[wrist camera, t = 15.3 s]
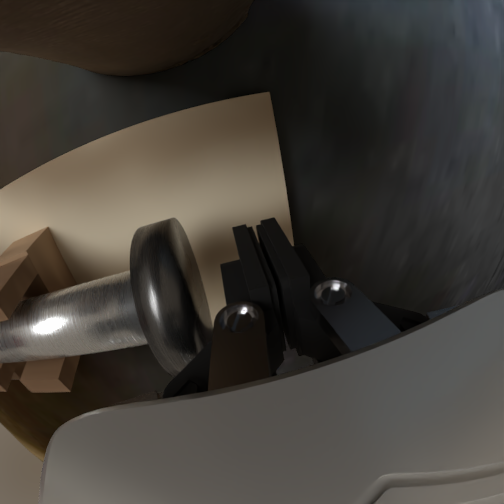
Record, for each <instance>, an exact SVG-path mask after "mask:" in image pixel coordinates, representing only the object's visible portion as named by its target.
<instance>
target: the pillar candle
mask: <svg viewBox="0 0 504 504" xmlns="http://www.w3.org/2000/svg"><path fill="white" fill-rule="evenodd" d="M253 1H254V0H0V51H1V52H11V53H15V54H20V55H28V56H33V57H38V58H43V59H47V60H51V61H55V62H60V63H65V64H69V65H72V66H76V67H79V68H82V69H85V70H88V71H91V72H94V73H99V74H104V75H117V76H134V75H142V74H143V75H144V74H151V73H156V72H158V71H165V70H168V69H171V68H174V67H177V66H180V65H183V64H185V63H187V62H188V60H194V59H197V58H199V57H201V56H202V55H204V54H206V53H207V52H209V51H210V50H212V49H214V48H215V47H217V46H218V45H219V44H220V43H222V42H223V41H224V40H226V39H227V38H228V37H229V36H230V35H232V34H233V33H234V32H235V31H236V30H237V28H238V27H239V26H240V25H241V24H242V22H244V20H245V19H246V17H247V16H248V13H247V12H248V10H249V8H250V5H251V3H252V2H253Z"/></svg>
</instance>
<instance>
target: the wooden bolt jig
mask: <svg viewBox="0 0 504 504" xmlns="http://www.w3.org/2000/svg"><path fill="white" fill-rule="evenodd" d="M173 217H174V218H176V219H177V220H178V221H179V222H180V224H181V225H182V227H183V229H184V231H185V233H186V235H187V237H188V240H189V242H190V245H191V247H192V250H193V253H194V256H195V259H196V262H197V265H198V268H199V271H200V275H201V278H202V282H203V286H204V289H205V293H206V297H207V301H208V306H209V310H210V315H211V320H212V325H213V327H214V320H215V317H216V315H217V313H218V312H219V311H220V310H221V309H222V308H224V307H225V306H226V300H225V294H224V287H223V281H222V274H221V268H220V264H222V263H226V262H230V261H235V260H239V255H238V251H237V247H236V243H235V238H234V234H233V230H232V227H235V226H239V225H243V224H246V226H247V227H251V226H252V228H253V230H254V232H255V235H256V237H257V240H258V235H257V229H256V225H259V224H261V223H260V221H261V220H264V219H269V218H273V217H275V219H276V220H277V222H278V224H279V225H280V227H281V229H282V230H283V232H284V233H285V235H286V237H287V238H288V240H289V242H290V243H291V245H292V246H294V241H293V234H292V226H291V219H290V212H289V205H288V198H287V191H286V185H285V178H284V172H283V166H282V159H281V153H280V147H279V141H278V136H277V130H276V124H275V119H274V113H273V108H272V103H271V97H270V92H264V93H258V94H252V95H247V96H241V97H236V98H231V99H226V100H222V101H217V102H213V103H209V104H204V105H200V106H196V107H192V108H189V109H185V110H181V111H178V112H174V113H171V114H167V115H164V116H161V117H158V118H154V119H151V120H148V121H145V122H142V123H139V124H136V125H134V126H131V127H128V128H125V129H122V130H120V131H117V132H115V133H112V134H109V135H107V136H104V137H102V138H99V139H97V140H95V141H92V142H90V143H88V144H85V145H83V146H81V147H79V148H76V149H74V150H72V151H70V152H68V153H66V154H64V155H61V156H59V157H57V158H55V159H53V160H51V161H49V162H48V163H46V164H44V165H42V166H40V167H38V168H36V169H34V170H33V171H31V172H29V173H27V174H25V175H24V176H22V177H20V178H18V179H17V180H15V181H13V182H12V183H10V184H8V185H7V186H5V187H4V188H2V189H0V322H1V321H5V320H9V318H10V317H11V315H12V313H13V312H14V310H15V308H16V306H17V305H18V303H19V302H20V301H22V300H26V299H29V298H33V297H36V296H40V295H43V294H47V293H50V292H54V291H57V290H61V289H65V288H68V287H72V286H75V285H79V284H82V283H86V282H90V281H93V280H97V279H101V278H104V277H108V276H112V275H115V274H119V273H123V272H126V271H130V248H131V242H132V239H133V236H134V233H135V232H136V230H137V229H138V228H140V227H142V226H145V225H149V224H152V223H155V222H159V221H162V220H166V219H169V218H173ZM258 242H259V240H258ZM80 356H81V355H78V356H70V357H62V358H54V359H45V360H35V361H24V362H12V363H0V391H5V392H7V390H8V387H9V384H10V381H11V380H19V379H20V381H21V382H22V383H23V384H24V385H25V386H26V387H27V388H28V389H29V390H30V391H31V392H71V389H72V385H73V381H74V377H75V373H76V370H77V366H78V362H79V359H80Z"/></svg>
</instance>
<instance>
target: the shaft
mask: <svg viewBox="0 0 504 504" xmlns="http://www.w3.org/2000/svg"><path fill="white" fill-rule="evenodd" d="M212 337H213V325H212V320H211V315H210V310H209V306H208V301H207V297H206V293H205V289H204V286H203V282H202V278H201V275H200V271H199V268H198V265H197V262H196V259H195V256H194V253H193V250H192V247H191V245H190V242H189V240H188V237H187V235H186V233H185V231H184V229H183V227H182V225H181V224H180V222H179V221H178V220H177V219H176V218H174V217H173V218H169V219H166V220H162V221H159V222H155V223H152V224H149V225H145V226H142V227H140V228H138V229H137V230H136V232H135V233H134V236H133V239H132V242H131V248H130V271H126V272H123V273H119V274H115V275H112V276H108V277H104V278H101V279H97V280H93V281H90V282H86V283H82V284H79V285H75V286H72V287H68V288H65V289H61V290H57V291H54V292H50V293H47V294H43V295H40V296H36V297H33V298H29V299H26V300H22V301H20V302H19V303H18V305H17V306H16V308H15V310H14V312H13V313H12V315H11V317H10V318H9V320H5V321H1V322H0V363H12V362H24V361H35V360H45V359H54V358H62V357H70V356H78V355H85V354H92V353H99V352H105V351H112V350H118V349H124V348H129V347H135V346H141V345H146V344H148V345H149V347H150V349H151V351H152V353H153V354H154V356H155V358H156V359H157V361H158V362H159V364H160V365H161V366H162V368H163V369H164V370H165V371H166V372H167V373H168V374H170V375H171V376H173V377H176V376H177V375H178V374H179V373H180V372H181V371H182V370H183V369H184V368H185V367H186V366H187V364H188V363H189V362H190V361H191V360H192V359H193V358H194V357H195V356H196V355H197V354H198V353H199V352H200V351H201V350H202V349H203V348H204V347H205V346H206V345H207V344H208V343H209V342H210V341H211V340H212Z"/></svg>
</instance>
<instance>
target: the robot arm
mask: <svg viewBox="0 0 504 504" xmlns="http://www.w3.org/2000/svg"><path fill="white" fill-rule="evenodd" d="M260 223H261V224H259V225H256V229H257V235H258V240H259V242H258V240H257V237H256V235H255V232H254V230H253V228H252V226H251V227H247V226H246V224H243V225H239V226H235V227H232V230H233V234H234V238H235V243H236V247H237V251H238V255H239V260H235V261H230V262H226V263H222V264H220V268H221V274H222V281H223V287H224V294H225V300H226V306H225V307H224V308H222V309H221V310H220V311H219V312H218V313H217V315H216V317H215V320H214V327H213V337H212V340H211V341H210V342H209V343H208V344H207V345H206V346H205V347H204V348H203V349H202V350H201V351H200V352H199V353H198V354H197V355H196V356H195V357H194V358H193V359H192V360H191V361H190V362H189V363H188V364H187V366H186V367H185V368H184V369H183V370H182V371H181V372H180V373H179V374H178V375H177V376H176V377H175V378H174V379H173V380H172V381H171V382H170V383H169V384H168V385H167V387H166V388H165V390H164V392H161V393H157V391H153V392H150V393H147V394H144V395H141V396H138V397H135V398H132V399H129V400H126V401H123V402H119V403H116V404H113V405H109V406H106V407H104V408H101V409H98V410H94V411H91V412H88V413H85V414H82V415H80V416H78V417H76V418H73V419H71V420H69V421H68V422H66V423H64V424H63V425H62V426H60V427H59V428H58V429H57V430H56V431H55V432H54V434H53V436H52V438H51V440H50V442H49V444H48V447H47V450H46V454H45V458H44V463H43V468H42V474H41V481H40V491H39V504H504V289H499V290H495V291H491V292H489V293H486V294H483V295H481V296H478V297H476V298H474V299H472V300H470V301H468V302H466V303H463V304H461V305H459V306H455V307H451V308H446V309H442V310H437V311H433V312H428V313H427V314H426V316H423V315H422V314H419V313H416V312H413V311H408V310H404V309H400V308H396V307H392V306H388V305H383V304H379V303H375V302H371V301H370V300H369V299H368V298H367V297H366V296H365V295H364V294H363V293H362V292H361V291H360V290H359V289H358V288H357V287H356V286H355V285H354V284H352V283H351V282H350V281H348V280H345V279H343V278H336V277H332V278H326V277H325V276H324V274H323V273H322V271H321V270H320V268H319V267H318V265H317V264H316V262H315V261H314V259H313V258H312V256H311V255H310V253H309V252H308V250H307V249H306V247H305V246H304V245H303V244H299V245H295V246H292V245H291V243H290V242H289V240H288V238H287V237H286V235H285V233H284V232H283V230H282V229H281V227H280V225H279V224H278V222H277V220H276V219H275V217H273V218H269V219H264V220H261V221H260ZM283 330H284V332H283ZM284 333H285V336H286V339H287V341H288V344H289V347H290V349H294V348H296V350H297V352H298V355H299V356H301V355H306V356H309V357H312V359H313V363H314V365H311V366H308V367H305V368H301V369H298V370H294V371H291V372H287V373H284V374H280V375H277V373H276V370H277V369H278V367H279V366H280V365H281V363H282V362H283V360H284V356H283V351H286V345H285V339H284Z"/></svg>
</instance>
